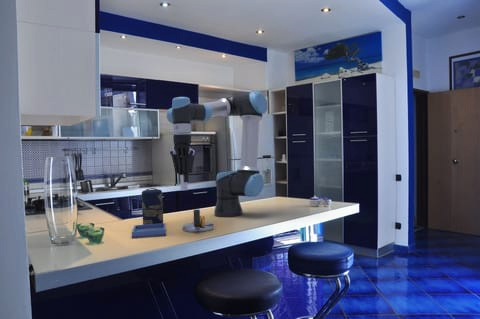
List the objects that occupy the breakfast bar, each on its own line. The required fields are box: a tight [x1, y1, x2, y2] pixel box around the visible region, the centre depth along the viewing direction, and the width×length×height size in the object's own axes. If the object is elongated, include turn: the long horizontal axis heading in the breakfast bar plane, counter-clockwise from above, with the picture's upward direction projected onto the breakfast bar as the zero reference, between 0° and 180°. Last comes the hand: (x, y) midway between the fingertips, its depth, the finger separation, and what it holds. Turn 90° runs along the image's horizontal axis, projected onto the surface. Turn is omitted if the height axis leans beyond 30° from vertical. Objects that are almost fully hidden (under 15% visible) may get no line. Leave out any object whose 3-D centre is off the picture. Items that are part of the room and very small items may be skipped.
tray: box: [131, 222, 167, 239], centre depth 159 cm, size 14×15×2 cm
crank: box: [193, 209, 201, 229], centre depth 161 cm, size 12×4×8 cm, turn 4°
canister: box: [141, 187, 164, 225], centre depth 175 cm, size 10×10×18 cm
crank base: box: [181, 215, 215, 233], centre depth 165 cm, size 14×14×6 cm
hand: (184, 189), depth 157 cm, fingers closed
